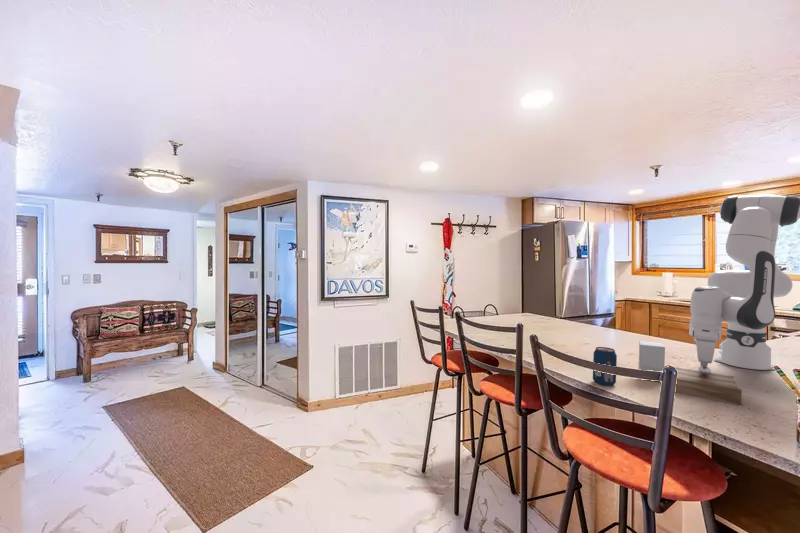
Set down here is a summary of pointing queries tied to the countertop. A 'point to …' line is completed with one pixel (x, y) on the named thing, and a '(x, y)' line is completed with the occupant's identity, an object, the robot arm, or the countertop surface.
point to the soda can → (608, 358)
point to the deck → (708, 386)
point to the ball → (704, 371)
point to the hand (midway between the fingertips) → (703, 370)
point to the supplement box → (651, 356)
